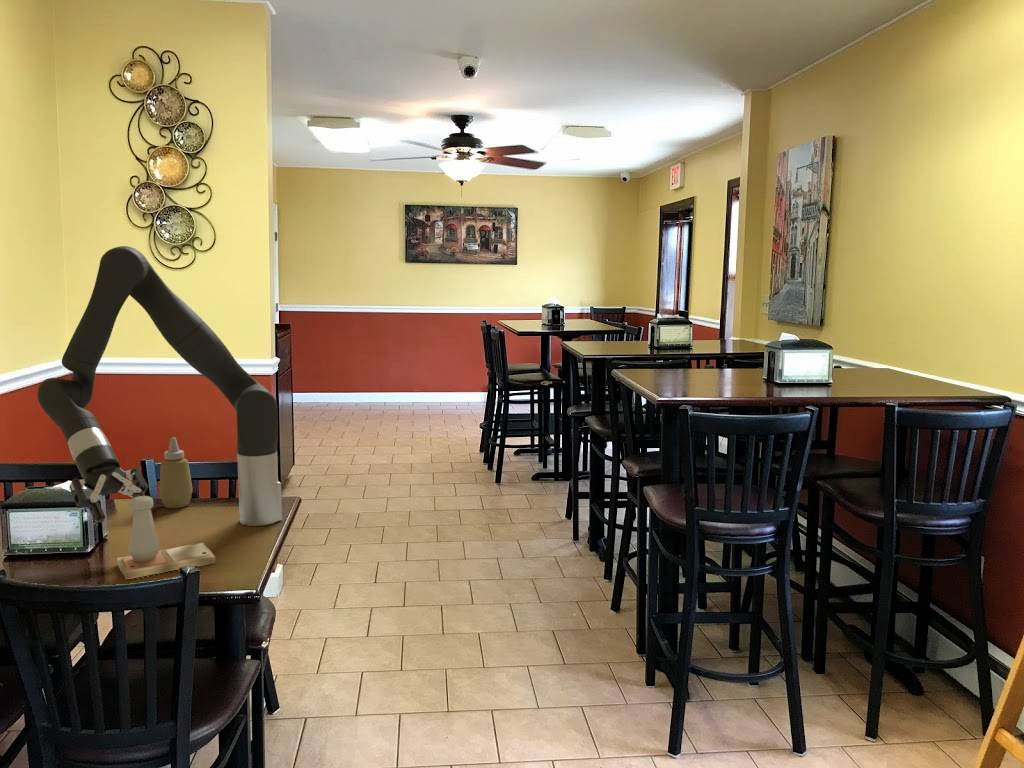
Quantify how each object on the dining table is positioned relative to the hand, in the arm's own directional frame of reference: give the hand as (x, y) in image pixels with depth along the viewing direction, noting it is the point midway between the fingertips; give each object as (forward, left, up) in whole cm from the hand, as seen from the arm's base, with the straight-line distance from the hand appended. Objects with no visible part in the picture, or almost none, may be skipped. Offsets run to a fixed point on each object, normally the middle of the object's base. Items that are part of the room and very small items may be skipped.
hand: (123, 515), depth 162 cm
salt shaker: (-3, +7, -8) cm, 11 cm away
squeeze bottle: (-18, -35, -10) cm, 40 cm away
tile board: (-7, +7, -10) cm, 14 cm away
